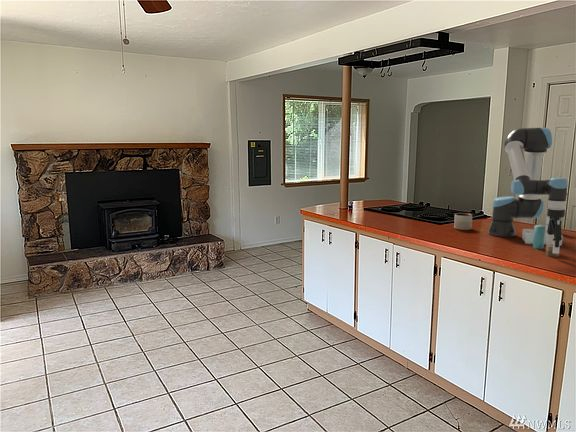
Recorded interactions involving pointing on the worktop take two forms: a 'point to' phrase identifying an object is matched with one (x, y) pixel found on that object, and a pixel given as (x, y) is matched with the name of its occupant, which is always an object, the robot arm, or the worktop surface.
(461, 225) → the planter
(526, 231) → the grey tote
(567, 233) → the worktop surface
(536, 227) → the teal cylinder
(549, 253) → the walnut cube
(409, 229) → the worktop surface
